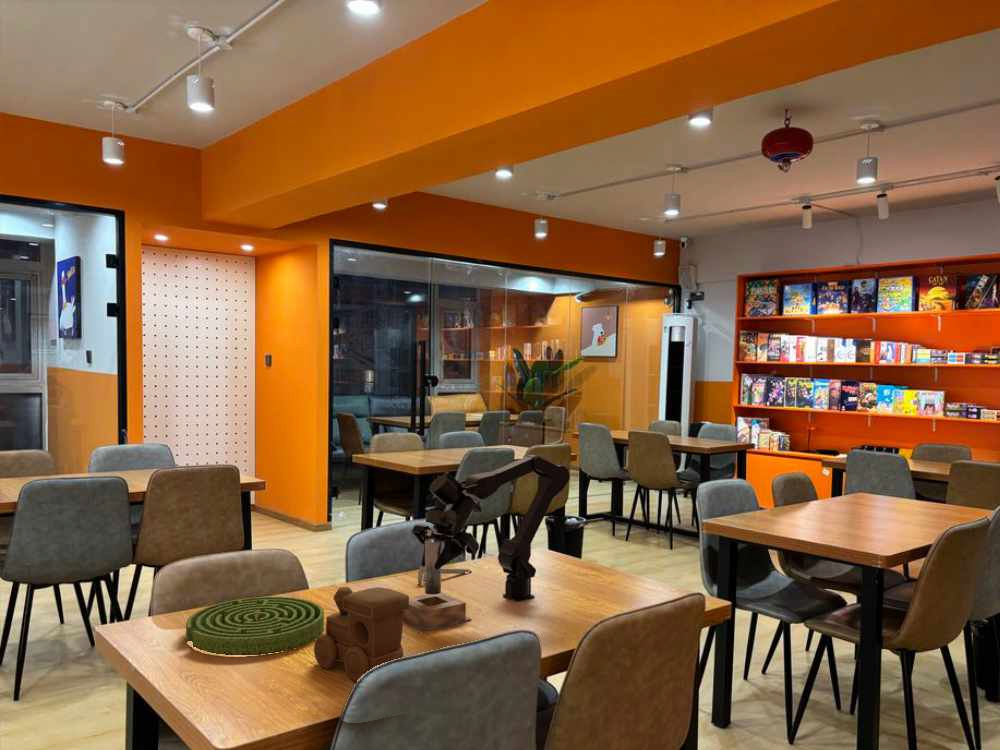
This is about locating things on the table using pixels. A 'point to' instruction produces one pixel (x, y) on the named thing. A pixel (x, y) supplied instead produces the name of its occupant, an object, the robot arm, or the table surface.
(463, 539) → the robot arm
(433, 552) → the steel pin
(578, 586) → the table surface
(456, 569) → the caliper
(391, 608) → the wooden toy train
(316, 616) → the maze
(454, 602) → the socket block
